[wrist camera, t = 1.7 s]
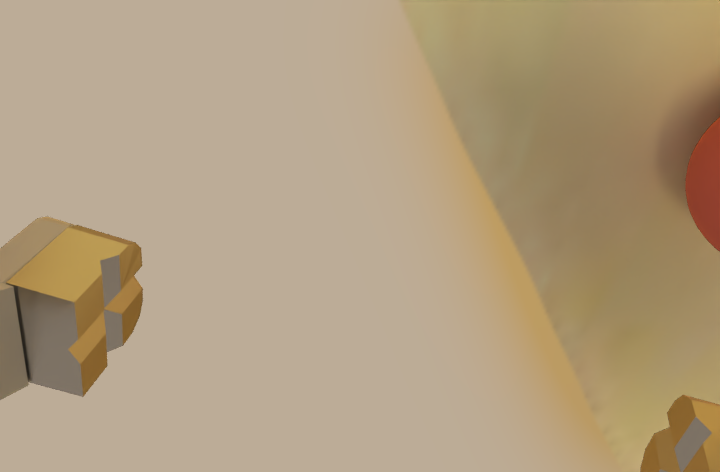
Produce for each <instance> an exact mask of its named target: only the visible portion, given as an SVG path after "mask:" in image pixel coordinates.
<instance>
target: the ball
mask: <svg viewBox="0 0 720 472" xmlns="http://www.w3.org/2000/svg"><path fill="white" fill-rule="evenodd" d="M686 196H687V203H688V207H689V210H690V213H691V215H692V218H693V220H694V222H695V223H696V225H697V227H698V229H699V230H700V232H701V233H702V234H703V236H704V237H705V238H706V239H707V240H708V241H709V242H710V243H711V244H712V245H713V246H714V247H715V248H716V249H717V250H719V251H720V117H719V118H718V119H717V120H716V121H715V122H714V123H713V124H712V125H711V126H710V127H709V128H708V129H707V130H706V132H705V133H704V134H703V136H702V137H701V139H700V140H699V142H698V143H697V145H696V147H695V149H694V151H693V153H692V155H691V158H690V161H689V164H688V169H687V174H686Z"/></svg>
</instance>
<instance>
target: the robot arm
mask: <svg viewBox="0 0 720 472" xmlns="http://www.w3.org/2000/svg"><path fill="white" fill-rule="evenodd" d="M141 266H142V256H141V248H140V247H139V246H138V245H137V244H136V243H135V242H132V241H128V240H125V239H122V238H119V237H115V236H112V235H109V234H105V233H102V232H98V231H95V230H92V229H89V228H85V227H82V226H79V225H73V224H70V223H67V222H64V221H60V220H57V219H53V218H50V217H42V218H37V219H36V220H35V221H33V222H32V223H31V224H30V225H28V226H27V227H26V228H25V229H24V230H22V231H21V232H20V233H19V234H17V235H16V236H15V237H14V238H12V239H11V240H10V241H9V242H8V243H6V244H5V245H4V246H3V247H1V249H0V400H1V399H3V398H5V397H7V396H9V395H11V394H13V393H14V392H16V391H18V390H20V389H22V388H24V387H26V386H28V382H30V383H34V384H38V385H41V386H45V387H49V388H52V389H56V390H60V391H64V392H68V393H71V394H75V395H79V396H82V397H83V396H84V395H85V394H86V392H87V391H88V390H89V389H90V387H91V386H92V385H93V384H94V382H95V381H96V380H97V378H98V377H99V376H100V374H101V373H102V372H103V371H104V369H105V368H106V367H107V352H109V351H111V350H113V349H116V348H118V347H121V346H123V345H124V343H125V342H126V341H127V339H128V338H129V336H130V335H131V334H132V332H133V330H134V327H135V326H136V323H137V321H138V319H139V316H140V312H141V306H142V301H143V294H142V293H143V292H142V291H143V289H142V287H141V285H140V284H139V282H138V281H137V280H136V278H135V277H134V275H135V274H136V272H137V271H138V270H139V269H140V268H141ZM667 414H668V420H669V425H670V427H669V428H666V429H664V430H662V431H659V432H657V433H655V434H654V435H653V437H652V439H651V440H650V442H649V444H648V446H647V447H646V449H645V453H644V457H643V460H642V464H641V472H720V405H719V404H715V403H712V402H708V401H704V400H701V399H697V398H693V397H690V396H686V395H682V396H681V397H679V398H678V399H677V400H675V402H674V403H673V405H672V406H671V408H670V409H669V411H668V412H667Z"/></svg>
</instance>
